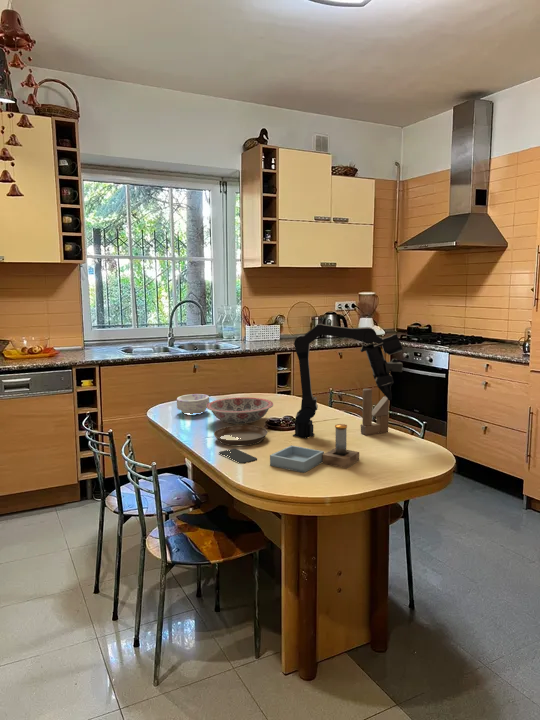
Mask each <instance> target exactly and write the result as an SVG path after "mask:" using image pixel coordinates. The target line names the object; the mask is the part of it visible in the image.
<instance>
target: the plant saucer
mask: <svg viewBox="0 0 540 720" xmlns="http://www.w3.org/2000/svg"><path fill="white" fill-rule="evenodd" d="M213 435H214V437H215V439H216V440H217V441H219V442H220V443H221V442H222V443H221V444H223V443H224V444H223V445H226V444H229V445H228V446H231V445H246V446H251V445H250V444H252V445H255V443H256V444H258V442H259V443H261V442H262V441H263V440H264V439H265V438H266V436H267V435H268V430H267V429H266V428H264V427H262V426H258V425H254V424H253V425H251V424H235V425H231V426H230V425H229V426H224V427H221V428H219V429H217V430H215V431H214V434H213ZM224 435H230V436H231V435H232V437H235V438H236V437H238V438H239V439H238V440H226V439H221V438H220V437H221V436H224ZM240 438H241V439H240Z"/></svg>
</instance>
